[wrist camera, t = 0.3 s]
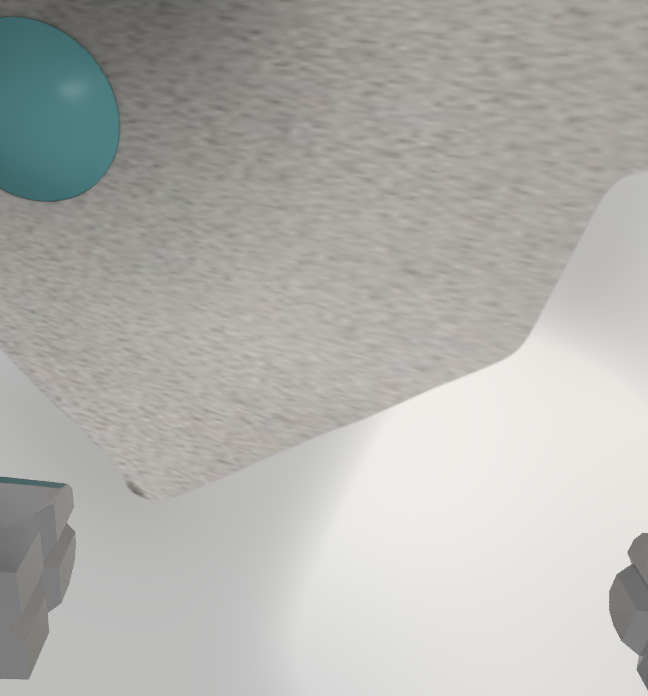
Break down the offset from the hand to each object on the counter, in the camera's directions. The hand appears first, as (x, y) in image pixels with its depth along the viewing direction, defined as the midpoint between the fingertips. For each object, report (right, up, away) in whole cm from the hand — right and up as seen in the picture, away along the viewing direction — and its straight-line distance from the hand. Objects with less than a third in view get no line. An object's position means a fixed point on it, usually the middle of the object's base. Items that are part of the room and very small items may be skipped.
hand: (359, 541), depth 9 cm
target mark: (-24, +22, +41) cm, 52 cm away
